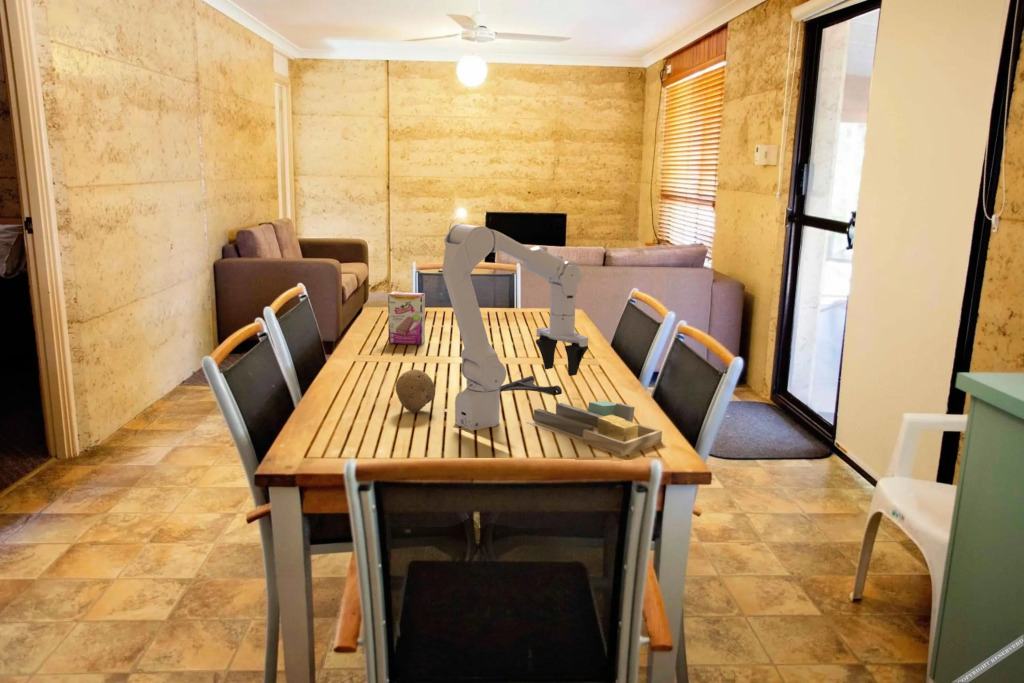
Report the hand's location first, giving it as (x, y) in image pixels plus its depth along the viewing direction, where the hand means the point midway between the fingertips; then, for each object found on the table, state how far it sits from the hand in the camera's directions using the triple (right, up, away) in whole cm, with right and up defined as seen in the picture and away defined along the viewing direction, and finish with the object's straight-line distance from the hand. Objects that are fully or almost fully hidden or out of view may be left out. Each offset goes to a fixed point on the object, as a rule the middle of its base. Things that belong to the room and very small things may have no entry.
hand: (560, 371), depth 178 cm
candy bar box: (-45, +6, +73) cm, 86 cm away
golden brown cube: (+9, -13, -17) cm, 23 cm away
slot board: (+6, -13, -14) cm, 20 cm away
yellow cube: (+12, -14, -20) cm, 27 cm away
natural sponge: (-33, -9, +1) cm, 35 cm away
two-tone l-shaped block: (+13, -9, -5) cm, 17 cm away
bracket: (-5, -6, +22) cm, 23 cm away
